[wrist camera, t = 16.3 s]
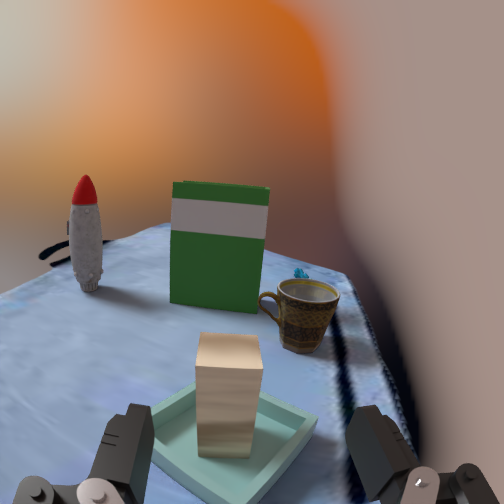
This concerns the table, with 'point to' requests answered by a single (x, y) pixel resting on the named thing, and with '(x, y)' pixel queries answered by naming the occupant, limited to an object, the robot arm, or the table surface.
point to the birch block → (227, 394)
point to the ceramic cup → (303, 312)
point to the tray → (228, 469)
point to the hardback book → (217, 245)
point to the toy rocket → (85, 235)
